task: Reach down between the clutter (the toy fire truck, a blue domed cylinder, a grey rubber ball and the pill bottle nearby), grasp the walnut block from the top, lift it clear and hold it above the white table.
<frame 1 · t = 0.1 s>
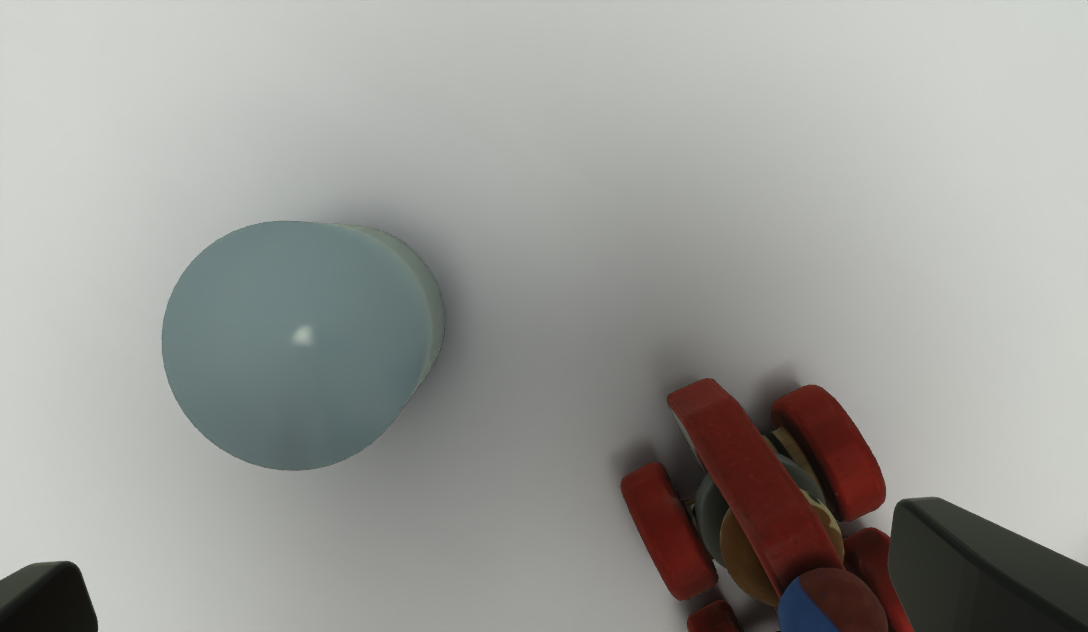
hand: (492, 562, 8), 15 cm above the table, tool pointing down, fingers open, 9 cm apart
blue domed cylinder: (351, 319, 23), on the table
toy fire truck: (755, 529, 24), on the table
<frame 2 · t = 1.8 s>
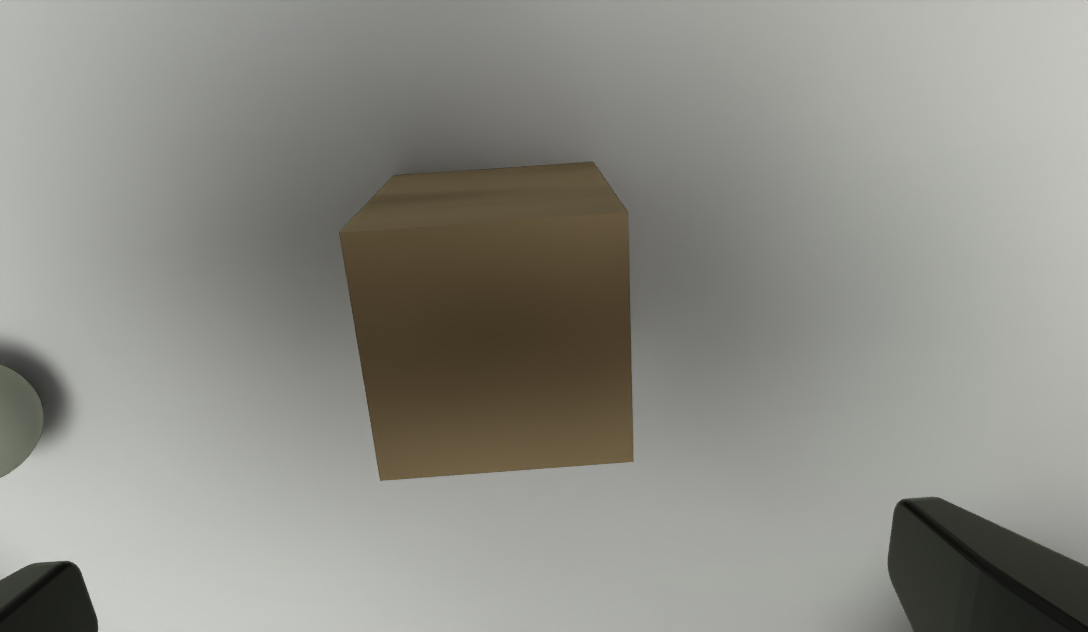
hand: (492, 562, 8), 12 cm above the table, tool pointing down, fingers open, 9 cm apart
walnut block: (501, 264, 19), on the table
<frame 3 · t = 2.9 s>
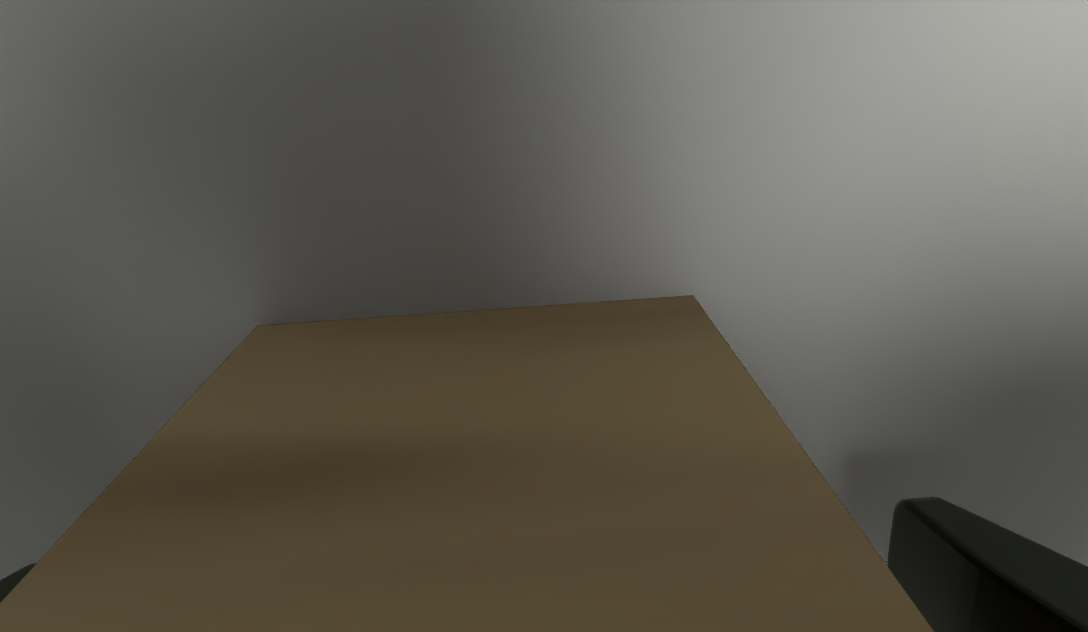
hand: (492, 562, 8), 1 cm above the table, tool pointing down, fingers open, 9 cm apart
walnut block: (494, 493, 9), on the table
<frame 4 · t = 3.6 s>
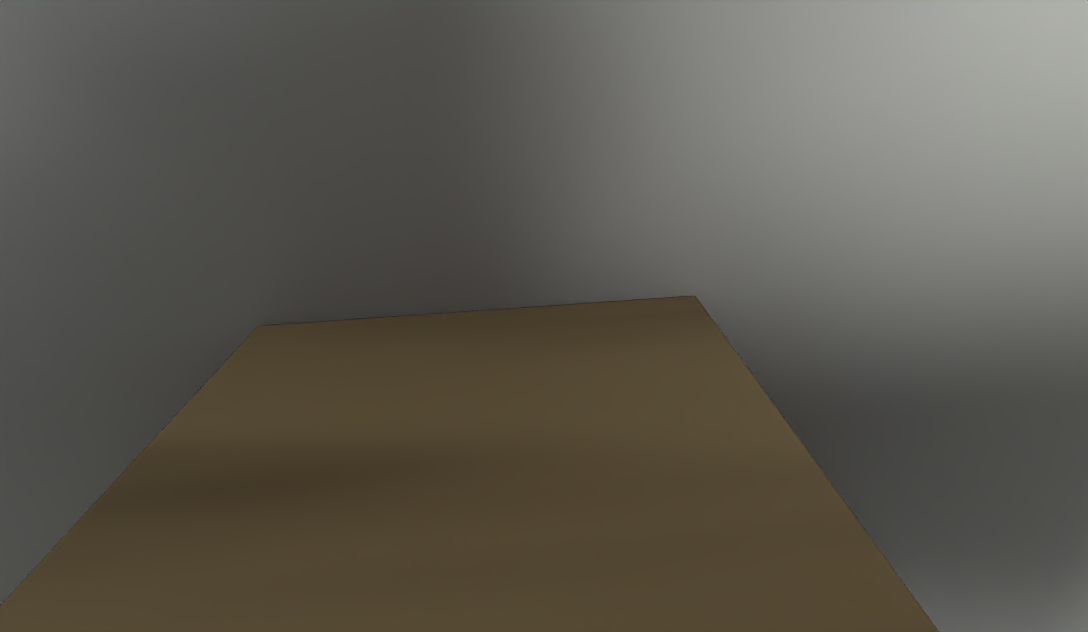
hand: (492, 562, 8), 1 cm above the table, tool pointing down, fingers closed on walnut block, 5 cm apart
walnut block: (495, 496, 9), on the table, touching gripper
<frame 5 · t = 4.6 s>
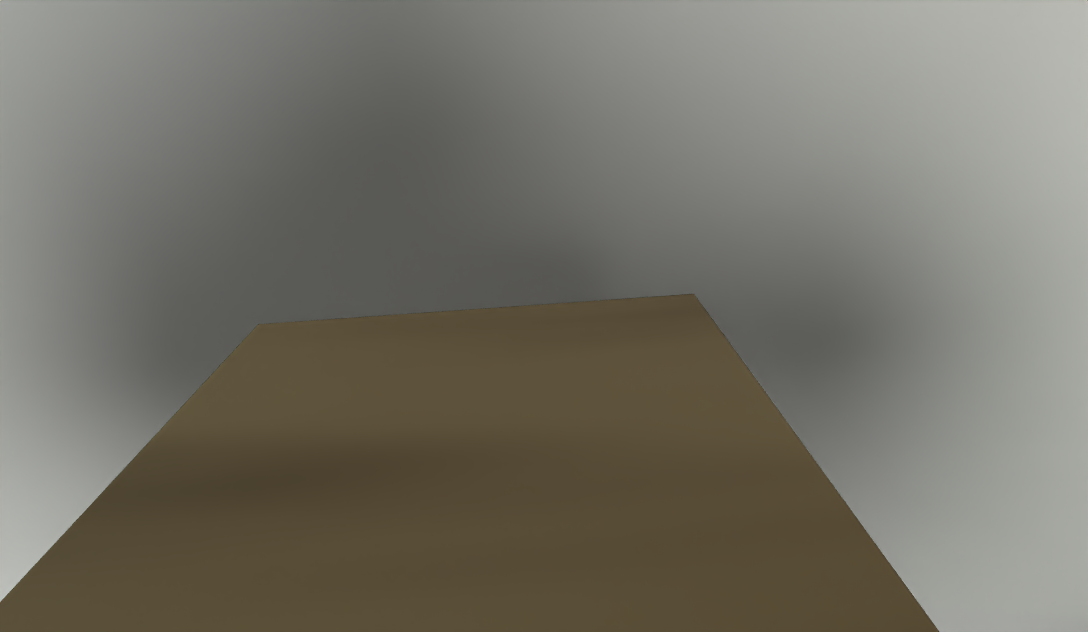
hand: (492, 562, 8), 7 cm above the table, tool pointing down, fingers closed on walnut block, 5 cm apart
walnut block: (495, 494, 9), point 5 cm above the table, touching gripper
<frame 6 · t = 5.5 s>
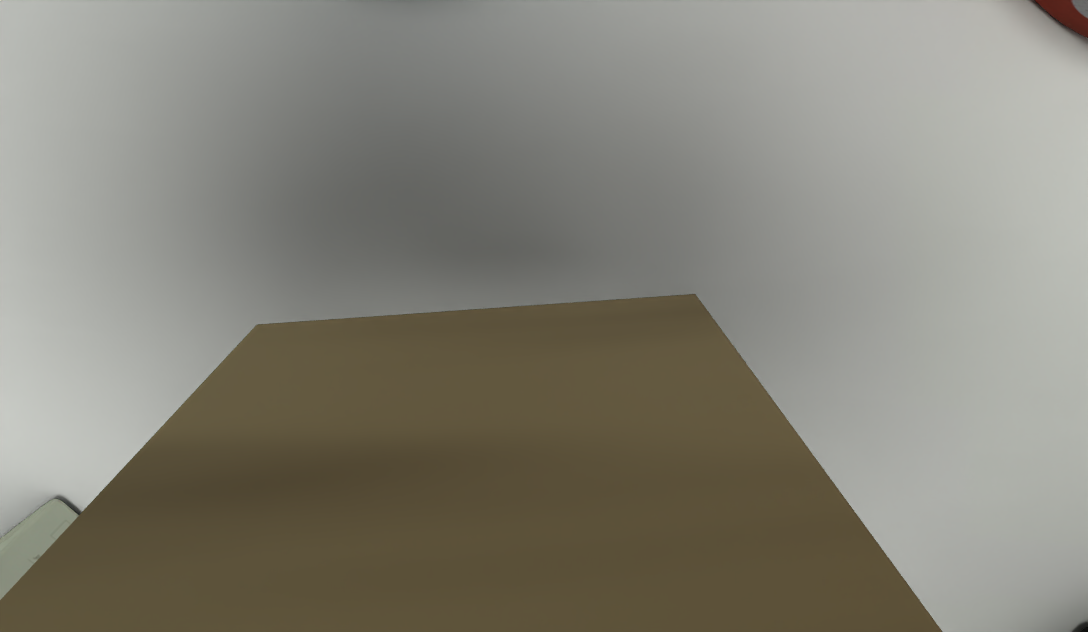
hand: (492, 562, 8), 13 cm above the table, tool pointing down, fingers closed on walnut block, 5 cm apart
walnut block: (495, 495, 9), point 11 cm above the table, touching gripper
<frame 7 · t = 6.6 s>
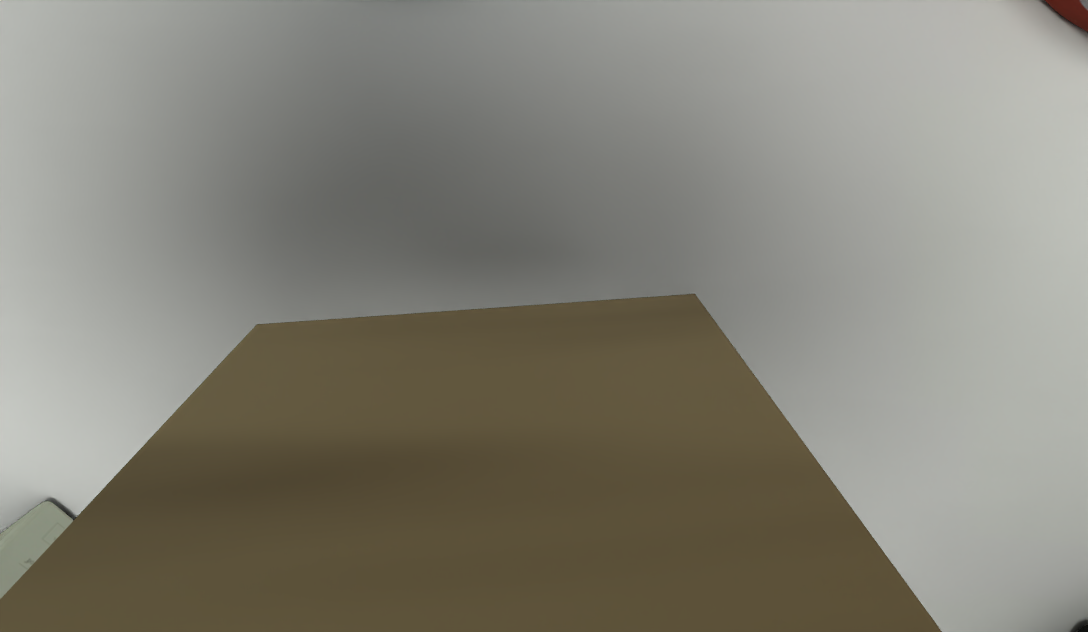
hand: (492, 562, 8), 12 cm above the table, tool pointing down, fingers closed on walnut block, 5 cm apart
walnut block: (495, 495, 9), point 11 cm above the table, touching gripper
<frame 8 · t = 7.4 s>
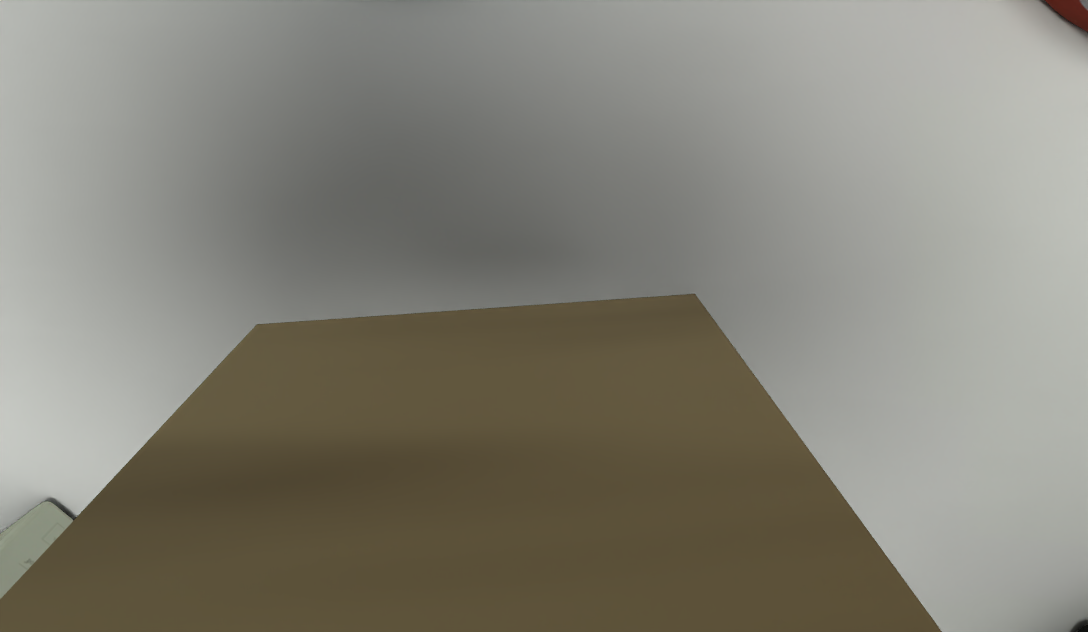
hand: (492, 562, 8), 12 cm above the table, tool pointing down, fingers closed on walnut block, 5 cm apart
walnut block: (495, 495, 9), point 11 cm above the table, touching gripper
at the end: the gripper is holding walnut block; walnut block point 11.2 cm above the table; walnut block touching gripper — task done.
